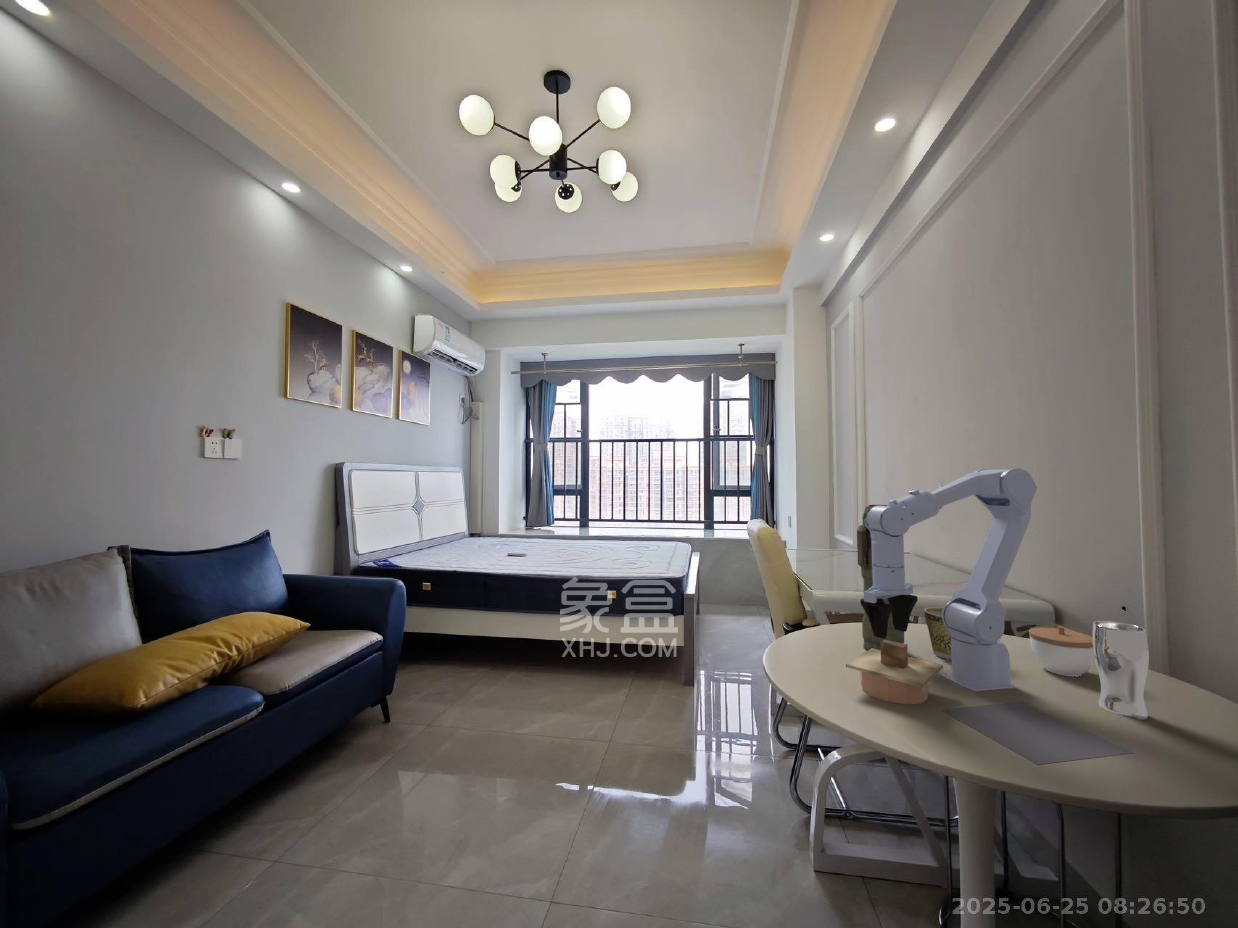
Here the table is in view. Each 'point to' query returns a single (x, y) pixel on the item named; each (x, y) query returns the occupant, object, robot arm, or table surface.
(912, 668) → the lid
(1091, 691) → the table surface
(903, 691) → the bowl
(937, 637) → the ceramic cup
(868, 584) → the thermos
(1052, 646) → the lidded jar
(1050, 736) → the mat
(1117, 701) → the silver metal tumbler
